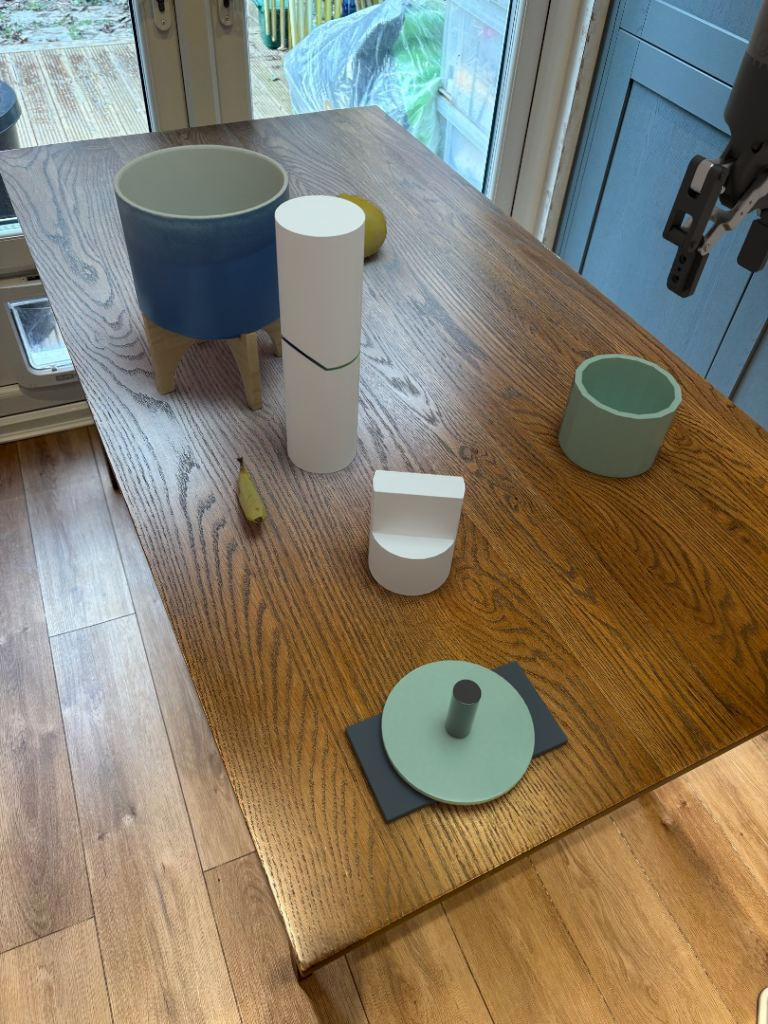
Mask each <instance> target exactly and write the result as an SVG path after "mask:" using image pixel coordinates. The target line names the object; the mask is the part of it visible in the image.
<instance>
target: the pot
mask: <svg viewBox="0 0 768 1024" xmlns="http://www.w3.org/2000/svg"><path fill="white" fill-rule="evenodd" d="M682 396H683V395H682V388H681V386H680V384H679V383H678V382H677V381H676V379H675V377H674V376H673V375H672V374H671V373H670V372H669V371H667V370H665V369H664V368H662V367H661V366H659V365H658V364H657V363H654V362H651V361H650V360H646V359H644V358H641V357H640V356H634V355H628V354H622V353H608V354H607V353H605V354H598V355H596V356H592V357H590V358H589V357H588V358H587V359H585V360H583V361H582V363H581V364H580V365H579V366H578V367H577V368H576V369H575V372H574V375H573V378H572V382H571V385H570V389H569V392H568V395H567V398H566V403H565V406H564V409H563V411H562V416H561V418H560V423H559V426H558V433H557V440H558V444H559V446H560V449H561V451H562V452H563V453H564V455H565V456H566V457H567V458H568V459H569V460H570V461H571V462H572V463H574V464H575V465H576V466H578V467H579V468H581V469H583V470H585V471H587V472H590V473H592V474H595V475H599V476H602V477H607V478H613V479H614V478H616V479H622V478H623V479H624V478H632V477H637V476H639V475H641V474H644V473H645V472H647V471H648V470H649V469H651V468H652V466H653V465H654V464H655V462H656V459H657V458H658V457H659V455H660V452H661V450H662V449H663V445H664V443H665V441H666V438H667V436H668V433H669V431H670V429H671V427H672V425H673V422H674V420H675V418H676V415H677V413H678V411H679V409H680V406H681V403H682V402H683V397H682Z"/></svg>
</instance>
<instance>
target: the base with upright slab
mask: <svg viewBox="0 0 768 1024" xmlns="http://www.w3.org/2000/svg"><path fill="white" fill-rule="evenodd" d="M373 475H374V476H373V479H372V490H371V509H370V521H369V538H368V539H369V541H368V555H367V556H368V557H367V562H368V569H369V572H370V574H371V576H372V577H373V579H374V580H375V581H376V582H377V584H378V585H380V586H382V587H383V588H384V589H386V590H387V591H390V592H392V593H394V594H397V595H403V596H407V597H409V596H410V597H411V596H413V597H414V596H423V595H427V594H431V593H432V592H434V591H436V590H438V589H439V588H440V587H441V586H442V585H443V584H444V583H446V581H447V579H448V577H449V576H450V573H451V572H450V571H451V567H452V562H453V556H454V551H455V545H456V541H457V534H458V530H459V524H460V518H461V513H462V509H463V503H464V497H465V492H466V485H465V479H464V477H463V476H456V475H444V474H433V473H420V472H409V471H396V470H395V471H394V470H383V469H376V470H375V472H374V474H373Z"/></svg>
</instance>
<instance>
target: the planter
mask: <svg viewBox="0 0 768 1024" xmlns="http://www.w3.org/2000/svg"><path fill="white" fill-rule="evenodd" d="M114 175H115V176H114V178H113V185H112V186H113V191H114V196H115V199H116V205H117V210H118V213H119V219H120V223H121V229H122V234H123V238H124V243H125V247H126V252H127V256H128V257H127V258H128V261H129V266H130V272H131V276H132V280H133V285H134V289H135V294H136V299H137V304H138V307H139V309H140V311H141V317H142V321H143V327H144V330H145V331H144V332H145V335H146V341H147V345H148V350H149V355H150V359H151V364H152V368H153V369H152V370H153V374H154V379H155V383H156V387H157V388H156V389H157V391H158V392H159V393H160V395H161V396H163V395H165V394H169V393H172V392H175V391H176V387H175V380H176V379H175V378H176V373H177V369H178V366H179V364H180V363H181V360H182V358H183V357H184V355H185V354H186V352H187V351H188V350H189V349H190V348H191V347H192V346H193V345H194V344H195V343H197V344H198V345H199V344H202V343H205V342H208V341H225V342H226V343H227V345H228V346H229V349H230V351H231V353H232V355H233V358H234V360H235V362H236V365H237V367H238V370H239V373H240V377H241V380H242V383H243V387H244V392H245V397H246V403H247V405H248V406H249V408H251V409H252V411H257V410H260V409H262V408H263V407H264V405H263V404H264V403H263V394H262V393H263V392H262V383H261V370H260V369H261V368H260V359H259V358H260V357H259V348H258V336H257V334H258V333H257V332H258V331H260V330H262V331H263V332H265V333H266V334H267V335H268V337H269V339H270V341H271V344H272V347H273V352H274V354H275V355H276V356H277V357H278V358H280V357H282V339H281V337H283V338H285V337H284V336H283V335H282V334H281V321H280V302H279V284H278V265H277V246H276V228H275V211H276V209H277V208H278V207H279V206H280V205H281V204H283V203H284V202H286V201H288V200H290V182H289V179H290V178H289V176H288V172H287V171H286V170H285V168H284V166H282V164H280V163H279V162H277V161H276V160H275V159H273V158H271V157H269V156H267V155H265V154H263V153H261V152H257V151H254V150H251V149H246V148H241V147H237V146H230V145H223V144H222V145H221V144H189V145H188V144H187V145H179V146H171V147H166V148H162V149H157V150H154V151H150V152H147V153H145V154H142V155H140V156H137V157H135V158H133V159H131V160H130V161H128V162H127V163H125V164H124V165H123V166H122V167H120V168H119V170H118V171H117V172H116V173H115V174H114Z"/></svg>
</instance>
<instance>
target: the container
mask: <svg viewBox="0 0 768 1024" xmlns="http://www.w3.org/2000/svg"><path fill="white" fill-rule="evenodd" d="M275 228H276V246H277V265H278V284H279V302H280V321H281V334H282V335H283V336H284V337H285V338H283V337H281V339H282V356H281V358H282V375H283V392H284V393H283V394H284V411H285V414H284V415H285V429H286V431H285V432H286V449H287V450H286V451H287V456H288V458H289V460H290V461H291V462H292V464H293V465H295V467H297V468H298V469H301V470H302V471H305V472H307V473H312V474H319V475H324V474H333V473H337V472H340V471H342V470H344V469H345V468H347V467H349V466H350V465H351V464H352V463H353V462H354V460H355V458H356V457H357V453H358V451H357V450H358V426H359V425H358V424H359V400H360V399H359V397H360V394H359V393H360V372H361V371H360V369H361V343H362V342H361V341H362V318H363V317H362V316H363V315H362V313H363V292H364V291H363V288H364V287H363V286H364V263H365V262H364V261H365V258H364V236H365V214H364V212H363V210H362V209H361V208H360V207H359V206H358V205H356V204H354V203H352V202H350V201H348V200H345V199H342V198H338V197H335V196H331V195H321V194H319V195H318V194H317V195H316V194H314V195H313V194H312V195H304V196H298V197H294V198H290V199H289V200H288V201H286V202H284V203H283V204H281V205H280V206H279V207H278V208H277V209H276V211H275Z"/></svg>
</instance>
